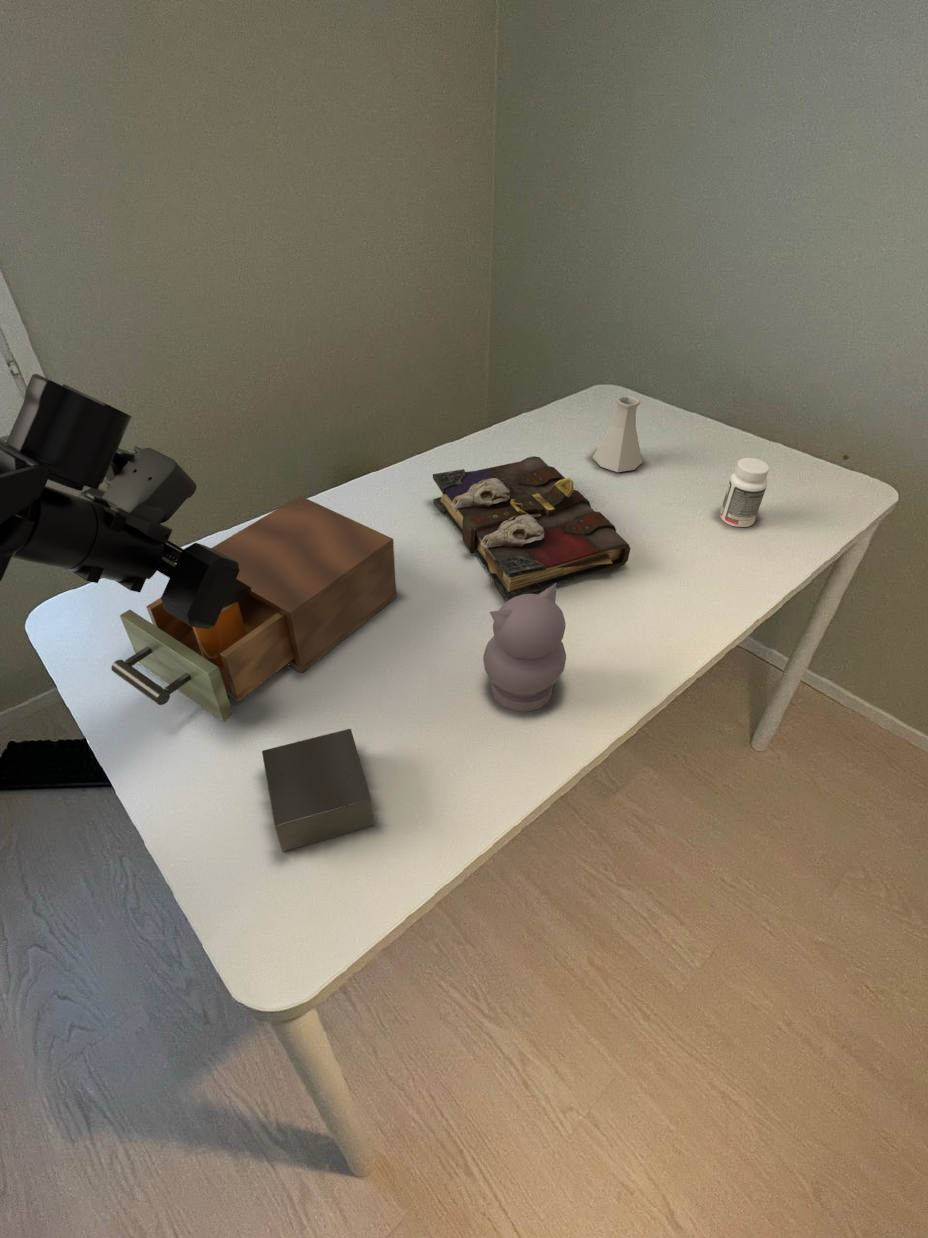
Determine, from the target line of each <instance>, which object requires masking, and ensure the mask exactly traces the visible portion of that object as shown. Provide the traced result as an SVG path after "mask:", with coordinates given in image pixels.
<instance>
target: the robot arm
mask: <svg viewBox="0 0 928 1238" xmlns="http://www.w3.org/2000/svg"><path fill="white" fill-rule="evenodd" d="M132 418H133V416H132V415H130V414H128V413H126V412H124V411H122V410H120V409H118V408H116V407H114V406H112V405H110V404H109V403H108V404H107V403H105V402H103V401H101V400H100V399H97V398H95V397H92V396H91V395H88V394H86V393H84V392H82V391H80V390H78V389H75V388H73V387H71V386H69V385H68V384H67V385H66V384H64V383H62V384H60V383H58V382H55V381H53V380H51V379H49V378H47V377H45V376H43V375H40V374H38V373H34V374H32V375H31V377H30V379H29V382H28V384H27V386H26V389H25V394H24V399H23V403H22V405H21V407H20V409H19V411H18V414H17V416H16V418H15V421H14V423H13V425H12V428H11V430H10V433H9V435H8V437H7V439H6V441H5V440H2V439H0V582H2V580H3V578H4V576H5V574H6V571H7V569H8V567H9V565H10V562H11V560H12V558H13V559H18V560H22V561H26V562H31V563H36V564H40V565H43V566H47V567H53V568H56V569H62V570H64V571H65V570H66V571H70V572H72V573H74V574H76V575H77V576H78V577H80V578H82V579H83V580H84V581H86V582H91V583H94V584H98V583H99V582H100V579H105V580H109V581H113V582H116V583H118V584H119V585H121V586H122V587H124V588H125V589H127V590H129V591H130V592H131V591H132V592H135V593H141V592H142V590H143V587H144V585H145V584H146V583H145V582H146V580H150V579H151V578H152V577H153V576H154V575H155V574H156V572H158V573H160V574H162V575H163V576H165V577H167V578H168V581H167V584H166V586H165V588H164V590H163V592H162V595H161V596H160V598H161V600H162V603H163V606H164V609H165V610H166V611H167V612H169V613H170V614H172V615H174V616H175V617H177V618H178V619H180V620H181V621H183V622H185V623H186V624H188V625H189V626H191V627H197V628H202V629H209V628H212V627H214V626H215V624H216V622H217V620H218V618H219V615H220V613H221V611H222V609H223V608H225V607H227V606H229V605H232V604H234V603H236V602H239V601H241V600H243V599H246V598H247V597H248V595H249V593H250V591H251V587H249V586H248V585H246V584H245V583H243V582H241V581H240V580H238V579H236V578H237V576H238V574H239V571H240V570H239V565H238V562H237V561H235V560H233V559H231V558H229V557H227V556H226V555H224V554H222V553H220V552H218V551H216V550H214V549H212V547H209V546H207V545H205V544H201V543H199V542H194V543H192V544H190V545H188V546H187V547H185V548H182V547H180V546H178V545H177V544H175V543H174V542H172V541H170V540H169V539H170V537H171V534H172V532H173V529H172V528H170V527H168V526H167V525H164V523H166V522H168V521H169V520H170V519H172V517H174V516H173V515H174V514H176V512H177V511H178V510H179V508H180V507H181V506H182V505H183V504H184V503H185V502H186V501H187V499H190V498H192V497H193V496H194V494H195V492H196V490H197V483H196V482H195V481H194V479H192V478H191V476H189V473H187V472H186V471H185V470H184V469H183V468H182V466H180V465H179V464H178V463H177V461H176V460H175V458H172V457H171V456H168V455H166V454H163V453H162V452H160V451H158V450H156V449H154V448H151V447H144V448H141V447H139V446H137V445H135V446H134V447H133V448H132V450H133V451H134V452H131V451H128V450H126V449H123V448H119V447H120V446H121V443H122V440H123V438H124V435H125V433H126V432H127V429H128V427H129V424H130V423H131V420H132ZM48 481H51V482H54V483H57V484H59V485H61V486H64V487H66V488H70V489H73V490H76V491H80V493H79V495H78V496H77V495H74V494H71V493H68V492H65V491H62V490H60V489H56V488H53V487H51V486H48V485H47V482H48ZM103 483H105V484H106V486H107V488H106V490H104V489H102V488H100V485H101V484H103ZM85 487H88V488H87V489H86V490H84V488H85Z"/></svg>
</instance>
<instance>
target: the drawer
mask: <svg viewBox="0 0 928 1238" xmlns="http://www.w3.org/2000/svg"><path fill="white" fill-rule="evenodd" d="M239 605H240V608H241V612H242V616H243V620H244V624H245V628H246V632H247V635H246V636H244V637H243V638H241V639H240V640H239V641H237V642H236V643H234V644H233V645H232V646H230V647H229V648H227V649H226V650H224V651H223V652H222V653H220V655H221V659H222V662H223V665H224V667H217V666H216V665H214V664H213V663H211V662H210V661H208V660H207V659H205V658H204V657H202V656H201V654H200V651H199V648H198V645H197V642H196V639H195V636H194V633H193V630H192V627H191V626H189V625H188V624H186V623H185V622H183V621H181V620H180V619H178V618H177V617H175V616H174V615H172V614H170V613H169V612H167V611H166V610H165V609H164V606H163V603H162V600H161V597H159V598H157V599H155V600H154V601H152V602H151V603H148V605H146V610H147V612H148V615H149V618H150V620H151V622H150V621H148V620H147V619H146V618H144V617H142V616H141V615H139V614H138V613H136V612H135V611H133V610H131V609H128V610H126V611H125V612H123V613H121V614H120V615H119V618H120V620H121V622H122V625H123V628H124V629H125V632H126V634H127V636H128V637H127V638H128V639H129V642H130V644H131V646H132V649H133V652H134V654H133V655H131V656H130V657H128V658H127V659H125V660H123V659H117V660H115V661H114V662H113V663H112V665H111V669H110V670H111V671H112V673H114V674H115V675H116V676H118V677H119V678H121V679H122V680H124V681H125V682H126V683H128V684H129V685H130V686H132V687H133V688H134V689H136V690H137V691H139V692H140V693H142V694H143V695H144V696H146V697H147V698H148V699H150V700H151V701H153V702H154V703H155V704H157V705H158V706H164V705H165V704H167V703H168V702H169V700H170V698H171V695H172V694H173V693H174V692H176V691H178V692H179V693H181V694H182V695H184V696H186V697H187V698H188V699H190V700H191V701H192V702H194V703H195V704H196V705H198V706H200V707H201V708H203V709H204V710H206V711H207V712H208V713H210V714H212V715H213V716H214V717H216V718H217V719H218V720H220V721H221V722H223V723H225V722H227V721H228V720H229V719H231V718H232V717H233V716H234V712H233V710H232V706H231V702H230V700H229V697H228V696H230V697H231V698H233V699H234V700H235V701H237V702H240V701H242V699H244V698H245V697H246V696H248V695H249V694H250V693H252V692H253V691H254V690H256V689H257V688H258V687H259V686H260V685H262V684H263V683H264V682H266V681H268V679H269V678H271V677H272V676H274V675H275V674H276V673H277V672H278V671H280V670H281V669H282V668H284V667H285V666H286V665H288V664H287V663H289V662H290V661H291V660H293V659H294V658H295V657H294V652H293V647H292V642H291V637H290V632H289V627H288V622H287V617H286V615H284V614H282V613H281V612H279V611H277V610H275V609H274V608H272V607H270V606H268V605H267V604H265V603H263V602H261V601H260V600H258V599H256V598H254V597H253V596H251V595H248V597H247V598H246V599H243V600H241V601H239ZM138 663H139V664H140V665H141V666H143V667H144V668H146V669H147V670H148V671H150V672H151V673H153V674H154V675H155V676H157V677H159V679H161V680H162V681H164V682H165V683H167V684H168V685H167V686H165V687H164V688H163V687H162V686H160V685H159V684H158V683H156V682H155V681H153V679H150V678H149V677H147V676H146V675H145V674H144V673H142V672H141V671H139V670H138V669H136V668H135V667H133V666H134V665H136V664H138Z"/></svg>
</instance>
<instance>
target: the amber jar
mask: <svg viewBox="0 0 928 1238" xmlns="http://www.w3.org/2000/svg"><path fill="white" fill-rule="evenodd" d="M192 630H193V633H194V636H195V639H196V642H197V645H198V648H199V651H200V654H201V656H202V657H204V658H205V659H207V660H208V661H210V662H211V663H213V664H214V665H216V666H217V667H224V665H223V662H222V659H221V655H220V653H222V652H223V651H224V650H226V649H227V648H229V647H230V646H232V645H233V644H234V643H236V642H237V641H239V640H240V639H241V638H243V637H244V636H246V635H247V632H246V628H245V624H244V620H243V616H242V612H241V608H240V605H239V602H236V603H234V604H232V605H229V606H227V607H225V608H223V609H222V611H221V613H220V615H219V618H218V620H217V622H216V624H215V626H214V627H212V628H209V629H202V628H197V627H192Z"/></svg>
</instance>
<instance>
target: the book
mask: <svg viewBox="0 0 928 1238" xmlns="http://www.w3.org/2000/svg"><path fill="white" fill-rule="evenodd" d="M432 480H433V481H434V483H435V484H436V486H437V487H438V489H439V490H440V492H441V493H442V494H441V496H440V497H436V498H433V499H432V502H433V505H434V506H435V507H436V508H437V509H438V510H439V511H440V513H441V514H442V515H445V516H446V517H447V519H448V520H449V521H450V523H452V525H453V526H454V527H455V528H456V529H457V531H459V533H460V534H461V535H462V541H463V543H464V545H465V547H466V549H467V550H468V552H469V553H470V554H473V555H474V554H475V555H476V556H477V558H478V559H479V561H480V562H481V563H482V565H483V566H484V568H485V570H486V571H487V573H488V574H489V576H490V577H491V579H492V580H493V583H494V586H495V587H496V589H497V591H498V592H499V594H500V595H501V597H502V599H503V600H504V603H506V602H507V601H509V600H510V599H512V598H514V597H516V596H519V595H523V594H540V593H541V592H543V591H544V590H545V588H546V589H547V588H549V587H551V586H552V585H554V584H555V583H557V585H559V584H561V583H565V582H569V581H573V580H575V579H580V578H581V577H582V578H583V577H586V576H590V575H593V574H597V573H600V572H604V571H606V572H607V571H609V572H610V571H614V570H618V569H620V568H622V567H623V566H625V565H626V563H627V562H628V561H629V557H630V552H631V547H630V546H631V545H630V544H629V543H628V542H627V541H626V540H625V539H624V538H623V537H622V536H621V535H620V534H619V533H618V532H617V528H616V526H615V525H614V524H613V523H612V522H611V521H610V520H609V519H608V518H607V517H606V516H605V515H604V514H602V513H601V512H600V511H595V510H594V509H593V508H592V505H591V502H590V501H589V500H588V499H587V497H585V495H583V494H582V493H581V492H580V491H579V490H577V489H574V480H572V479H571V478H570V477H566V478H565V476H563V474H562V473H561V472H560V471H558V469H556V468H555V467H554V466H551V465H548V463H546V462H545V461H544V460H543V459H542V458H541V457H540V456H536V455H533V456H529V457H526V458H524V459H522V460H520V461H516V462H510V463H506V464H500V465H497V466H491V467H486V468H481V469H477V470H471V471H470V470H469V471H465V468H463V469H462V468H461V469H456V470H449V471H445V472H444V471H443V472H438V473H432Z"/></svg>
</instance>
